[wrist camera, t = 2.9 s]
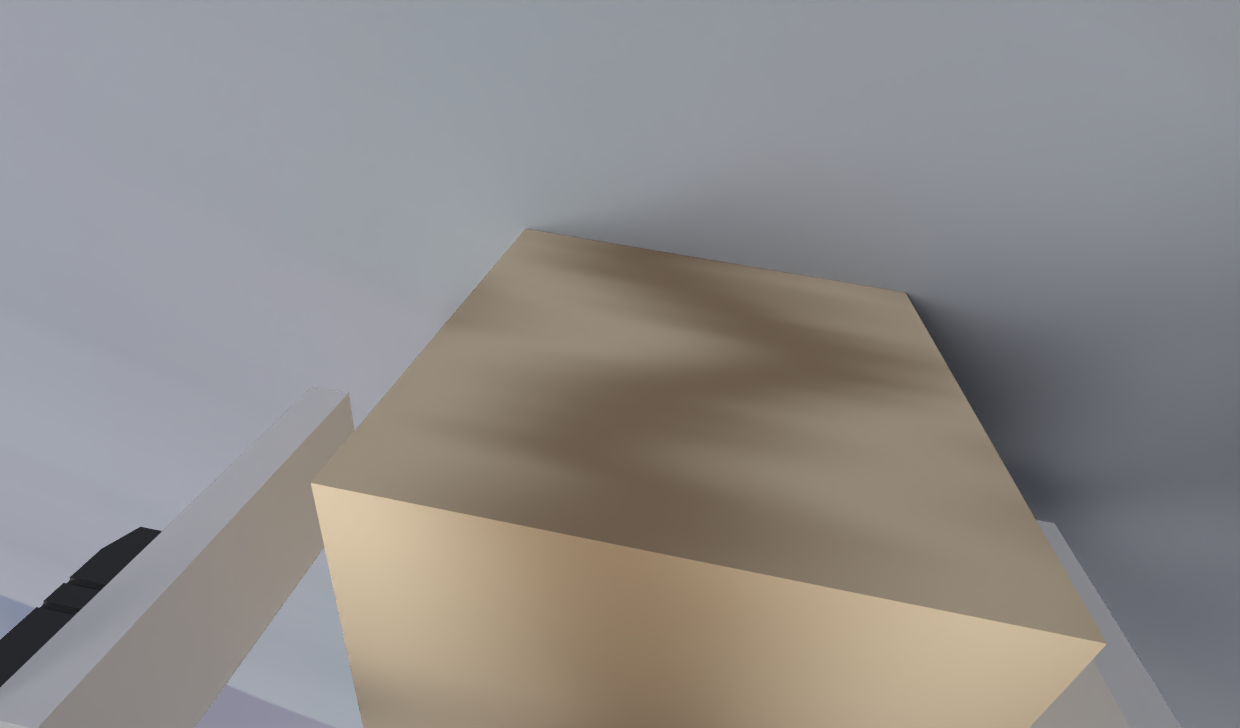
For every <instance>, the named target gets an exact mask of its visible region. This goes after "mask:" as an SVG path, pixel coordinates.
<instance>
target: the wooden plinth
mask: <svg viewBox="0 0 1240 728" xmlns="http://www.w3.org/2000/svg"><path fill="white" fill-rule="evenodd" d="M311 487H312V491H313V496H314V501H315V505H316V510H317V514H318V519H319V524H320V528H321V533H322V538H323V542H324V547H325V552H326V556H327V561H328V566H329V570H330V575H331V580H332V584H333V589H334V593H335V598H336V603H337V607H338V612H339V617H340V621H341V626H342V631H343V635H344V640H345V645H346V649H347V654H348V659H349V663H350V668H351V672H352V677H353V682H354V686H355V691H356V696H357V700H358V705H359V710H360V714H361V719H362V724H363V728H1030V727H1031V726H1032V724H1033V723H1034V722H1035V721H1036V720H1037V719H1038V718H1039V717H1040V716H1041V715H1042V714H1043V713H1044V711H1045V710H1046V709H1047V708H1048V707H1049V706H1050V705H1051V704H1052V703H1053V702H1054V701H1055V700H1056V699H1057V697H1058V696H1059V695H1060V694H1061V693H1062V692H1063V691H1064V690H1065V689H1066V688H1067V687H1068V686H1069V684H1070V683H1071V682H1072V681H1073V680H1074V679H1075V678H1076V677H1077V676H1078V675H1079V674H1080V673H1081V671H1082V670H1083V669H1084V668H1085V667H1086V666H1087V665H1088V664H1089V663H1090V662H1091V661H1092V660H1093V659H1094V657H1095V656H1096V655H1097V654H1098V653H1099V652H1100V651H1101V650H1102V649H1103V648H1104V647H1105V646H1106V644H1107V643H1106V641H1105V639H1104V637H1103V636H1102V634H1101V632H1100V630H1099V629H1098V627H1097V625H1096V624H1095V622H1094V620H1093V618H1092V617H1091V615H1090V613H1089V611H1088V610H1087V608H1086V606H1085V604H1084V603H1083V601H1082V599H1081V597H1080V596H1079V594H1078V592H1077V590H1076V589H1075V587H1074V585H1073V583H1072V582H1071V580H1070V578H1069V576H1068V575H1067V573H1066V571H1065V570H1064V568H1063V566H1062V564H1061V563H1060V561H1059V559H1058V557H1057V556H1056V554H1055V552H1054V550H1053V549H1052V547H1051V545H1050V543H1049V542H1048V540H1047V538H1046V536H1045V535H1044V533H1043V531H1042V529H1041V528H1040V526H1039V524H1038V522H1037V521H1036V519H1035V517H1034V516H1033V514H1032V512H1031V510H1030V509H1029V507H1028V505H1027V503H1026V502H1025V500H1024V498H1023V496H1022V495H1021V493H1020V491H1019V489H1018V488H1017V486H1016V484H1015V482H1014V481H1013V479H1012V477H1011V475H1010V474H1009V472H1008V470H1007V468H1006V467H1005V465H1004V463H1003V462H1002V460H1001V458H1000V456H999V455H998V453H997V451H996V449H995V448H994V446H993V444H992V442H991V441H990V439H989V437H988V435H987V434H986V432H985V430H984V428H983V427H982V425H981V423H980V421H979V420H978V418H977V416H976V415H975V413H974V411H973V409H972V408H971V406H970V404H969V402H968V401H967V399H966V397H965V395H964V394H963V392H962V390H961V388H960V387H959V385H958V383H957V381H956V380H955V378H954V376H953V374H952V373H951V371H950V369H949V367H948V366H947V364H946V362H945V361H944V359H943V357H942V355H941V354H940V352H939V350H938V348H937V347H936V345H935V343H934V341H933V340H932V338H931V336H930V334H929V333H928V331H927V329H926V327H925V326H924V324H923V322H922V320H921V319H920V317H919V315H918V313H917V312H916V310H915V308H914V307H913V305H912V303H911V301H910V300H909V298H908V296H907V294H906V293H904V292H898V291H892V290H886V289H880V288H874V287H869V286H863V285H857V284H851V283H845V282H839V281H833V280H827V279H821V278H815V277H809V276H803V275H797V274H791V273H785V272H779V271H773V270H768V269H762V268H756V267H750V266H744V265H738V264H732V263H726V262H720V261H714V260H708V259H702V258H696V257H690V256H684V255H678V254H672V253H667V252H661V251H655V250H649V249H643V248H637V247H631V246H625V245H619V244H613V243H607V242H601V241H595V240H589V239H583V238H577V237H572V236H566V235H560V234H554V233H548V232H542V231H536V230H530V229H525V230H524V231H523V232H522V233H521V235H520V236H519V237H518V238H517V239H516V241H515V242H514V243H513V244H512V245H511V247H510V248H509V249H508V250H507V251H506V252H505V254H504V255H503V256H502V257H501V258H500V260H499V261H498V262H497V263H496V264H495V265H494V267H493V268H492V269H491V270H490V271H489V273H488V274H487V275H486V276H485V277H484V278H483V280H482V281H481V282H480V283H479V284H478V286H477V287H476V288H475V289H474V290H473V291H472V293H471V294H470V295H469V296H468V297H467V299H466V300H465V301H464V302H463V303H462V304H461V306H460V307H459V308H458V309H457V310H456V312H455V313H454V314H453V315H452V316H451V318H450V319H449V320H448V321H447V322H446V323H445V325H444V326H443V327H442V328H441V329H440V331H439V332H438V333H437V334H436V335H435V336H434V338H433V339H432V340H431V341H430V342H429V344H428V345H427V346H426V347H425V348H424V349H423V351H422V352H421V353H420V354H419V355H418V357H417V358H416V359H415V360H414V361H413V362H412V364H411V365H410V366H409V367H408V368H407V370H406V371H405V372H404V373H403V374H402V375H401V377H400V378H399V379H398V380H397V381H396V383H395V384H394V385H393V386H392V387H391V389H390V390H389V391H388V392H387V393H386V394H385V396H384V397H383V398H382V399H381V400H380V402H379V403H378V404H377V405H376V406H375V407H374V409H373V410H372V411H371V412H370V413H369V415H368V416H367V417H366V418H365V419H364V420H363V422H362V423H361V424H360V425H359V426H358V428H357V429H356V430H355V431H354V432H353V433H352V435H351V436H350V437H349V438H348V439H347V441H346V442H345V443H344V444H343V445H342V446H341V448H340V449H339V450H338V451H337V452H336V454H335V455H334V456H333V457H332V458H331V460H330V461H329V462H328V463H327V464H326V465H325V467H324V468H323V469H322V470H321V471H320V473H319V474H318V475H317V476H316V477H315V478H314V480H313V481H312V482H311Z"/></svg>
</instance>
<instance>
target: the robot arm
mask: <svg viewBox="0 0 1240 728" xmlns="http://www.w3.org/2000/svg"><path fill="white" fill-rule="evenodd" d="M353 432H354V425H353V418H352V411H351V405H350V398H349V393H346V392H341V391H336V390H330V389H325V388H319V387H314V386H312V387H311V388H310V389H309V390H308V391H307V392H306V393H305V394H304V395H303V396H302V397H301V398H300V399H299V400H298V401H297V402H296V403H295V404H294V405H293V406H292V407H291V408H290V409H289V410H287V411H286V412H285V413H284V414H283V415H282V416H281V417H280V418H279V419H278V420H277V421H276V422H275V423H274V424H273V425H272V426H271V427H270V428H269V429H268V430H267V431H266V432H265V433H264V434H263V435H262V436H261V437H259V438H258V439H257V440H256V441H255V442H254V443H253V444H252V445H251V446H250V447H249V448H248V449H247V450H246V451H245V452H244V453H243V454H242V455H241V456H240V457H239V458H238V459H237V460H236V461H235V462H234V463H233V464H231V465H230V466H229V467H228V468H227V469H226V470H225V471H224V472H223V473H222V474H221V475H220V476H219V477H218V478H217V479H216V480H215V481H214V482H213V483H212V484H211V485H210V486H209V487H208V488H207V489H206V490H205V491H203V492H202V493H201V494H200V495H199V496H198V497H197V498H196V499H195V500H194V501H193V502H192V503H191V504H190V505H189V506H188V507H187V508H186V509H185V510H184V511H183V512H182V513H181V514H180V515H179V516H178V517H177V518H175V519H174V520H173V521H172V522H171V523H170V524H169V525H168V526H167V527H166V528H165V529H164V530H163V531H158V530H153V529H149V528H144V527H139V528H138V529H136V530H134V531H132V532H131V533H129V534H127V535H125V536H124V537H122V538H120V539H118V540H116V541H115V542H113V543H111V544H109V545H108V546H106V547H104V548H102V549H101V550H100V551H99V552H98V553H96V554H95V555H94V556H93V557H92V558H91V559H90V560H89V561H88V562H86V563H85V564H84V565H83V566H82V567H81V568H80V569H79V570H78V571H76V572H75V573H74V574H73V575H72V576H71V577H70V581H69V582H68V583H63V584H62V585H61V586H60V587H59V588H58V589H56V590H55V591H54V592H53V593H52V594H51V595H50V596H49V597H47V598H46V599H45V600H44V603H43V605H42V606H41V607H40V608H38V607H36V608H35V609H34V610H33V611H32V612H31V613H30V614H29V615H27V616H26V618H24V619H23V620H22V621H21V622H20V623H19V624H18V625H16V626H15V627H14V628H13V629H12V630H11V631H10V632H9V633H7V634H6V635H5V636H4V637H3V638H2V639H1V640H0V728H195V727H196V725H197V724H198V722H199V721H200V720H201V718H202V717H203V716H204V714H205V713H206V711H207V710H208V708H209V707H210V706H211V704H212V703H213V702H214V700H215V699H216V697H217V696H218V695H219V693H220V692H221V690H222V689H223V688H224V686H225V685H226V683H227V682H228V681H229V679H230V678H231V676H232V675H233V674H234V672H235V671H236V669H237V668H238V667H239V665H240V664H241V663H242V661H243V660H244V658H245V657H246V656H247V654H248V653H249V651H250V650H251V649H252V647H253V646H254V644H255V643H256V642H257V640H258V639H259V637H260V636H261V635H262V633H263V632H264V630H265V629H266V628H267V626H268V625H269V623H270V622H271V621H272V619H273V618H274V616H275V615H276V614H277V612H278V611H279V609H280V608H281V607H282V605H283V604H284V603H285V601H286V600H287V598H288V597H289V596H290V594H291V593H292V591H293V590H294V589H295V587H296V586H297V584H298V583H299V582H300V580H301V579H302V577H303V576H304V575H305V573H306V572H307V570H308V569H309V568H310V566H311V565H312V563H313V562H314V561H315V559H316V558H317V556H318V555H319V554H320V552H321V551H322V549H323V548H324V542H323V538H322V533H321V528H320V524H319V519H318V514H317V510H316V505H315V501H314V496H313V491H312V487H311V482H312V481H313V480H314V478H315V477H316V476H317V475H318V474H319V473H320V471H321V470H322V469H323V468H324V467H325V465H326V464H327V463H328V462H329V461H330V460H331V458H332V457H333V456H334V455H335V454H336V452H337V451H338V450H339V449H340V448H341V446H342V445H343V444H344V443H345V442H346V441H347V439H348V438H349V437H350V436H351V435H352V433H353ZM1036 521H1037V522H1038V524H1039V526H1040V528H1041V529H1042V531H1043V533H1044V535H1045V536H1046V538H1047V540H1048V542H1049V543H1050V545H1051V547H1052V549H1053V550H1054V552H1055V554H1056V556H1057V557H1058V559H1059V561H1060V563H1061V564H1062V566H1063V568H1064V570H1065V571H1066V573H1067V575H1068V576H1069V578H1070V580H1071V582H1072V583H1073V585H1074V587H1075V589H1076V590H1077V592H1078V594H1079V596H1080V597H1081V599H1082V601H1083V603H1084V604H1085V606H1086V608H1087V610H1088V611H1089V613H1090V615H1091V617H1092V618H1093V620H1094V622H1095V624H1096V625H1097V627H1098V629H1099V630H1100V632H1101V634H1102V636H1103V637H1104V639H1105V641H1106V643H1107V644H1106V646H1105V647H1104V648H1103V649H1102V650H1101V651H1100V652H1099V653H1098V654H1097V655H1096V656H1095V657H1094V659H1093V660H1092V661H1091V662H1090V663H1089V664H1088V665H1087V666H1086V667H1085V668H1084V669H1083V670H1082V671H1081V673H1080V674H1079V675H1078V676H1077V677H1076V678H1075V679H1074V680H1073V681H1072V682H1071V683H1070V684H1069V686H1068V687H1067V688H1066V689H1065V690H1064V691H1063V692H1062V693H1061V694H1060V695H1059V696H1058V697H1057V699H1056V700H1055V701H1054V702H1053V703H1052V704H1051V705H1050V706H1049V707H1048V708H1047V709H1046V710H1045V711H1044V713H1043V714H1042V715H1041V716H1040V717H1039V718H1038V719H1037V720H1036V721H1035V722H1034V723H1033V724H1032V726H1031V727H1030V728H1182V727H1181V725H1180V724H1179V722H1178V721H1177V719H1176V717H1175V716H1174V714H1173V712H1172V711H1171V709H1170V708H1169V706H1168V704H1167V703H1166V701H1165V700H1164V698H1163V696H1162V695H1161V693H1160V692H1159V690H1158V688H1157V687H1156V685H1155V684H1154V682H1153V680H1152V679H1151V677H1150V676H1149V674H1148V672H1147V671H1146V669H1145V668H1144V666H1143V664H1142V663H1141V661H1140V660H1139V658H1138V656H1137V655H1136V653H1135V652H1134V650H1133V648H1132V647H1131V645H1130V643H1129V642H1128V640H1127V639H1126V637H1125V635H1124V634H1123V632H1122V631H1121V629H1120V627H1119V626H1118V624H1117V623H1116V621H1115V619H1114V618H1113V616H1112V615H1111V613H1110V611H1109V610H1108V608H1107V607H1106V605H1105V603H1104V602H1103V600H1102V599H1101V597H1100V595H1099V594H1098V592H1097V591H1096V589H1095V587H1094V586H1093V584H1092V583H1091V581H1090V579H1089V578H1088V576H1087V574H1086V573H1085V571H1084V570H1083V568H1082V566H1081V565H1080V563H1079V562H1078V560H1077V558H1076V557H1075V555H1074V554H1073V552H1072V550H1071V549H1070V547H1069V546H1068V544H1067V542H1066V541H1065V539H1064V538H1063V536H1062V534H1061V533H1060V531H1059V530H1058V528H1057V526H1056V525H1055V523H1051V522H1046V521H1040V520H1036Z"/></svg>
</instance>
